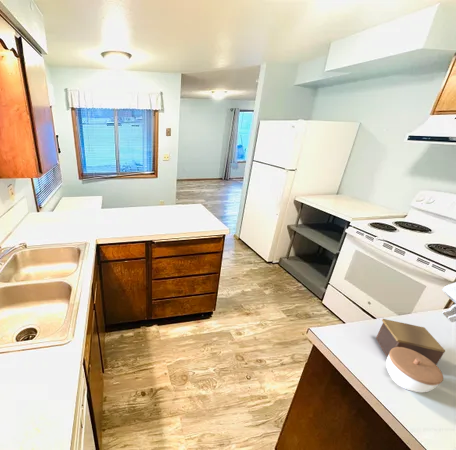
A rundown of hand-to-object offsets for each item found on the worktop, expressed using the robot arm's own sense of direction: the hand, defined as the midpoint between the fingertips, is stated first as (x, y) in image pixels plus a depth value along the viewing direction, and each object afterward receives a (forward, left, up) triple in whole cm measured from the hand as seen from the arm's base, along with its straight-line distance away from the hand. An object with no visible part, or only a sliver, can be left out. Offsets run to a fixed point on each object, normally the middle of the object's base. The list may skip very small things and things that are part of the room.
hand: (446, 317), depth 72 cm
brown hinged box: (+4, +4, -17) cm, 18 cm away
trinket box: (+2, +16, -17) cm, 23 cm away
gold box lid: (+5, +4, -9) cm, 11 cm away
